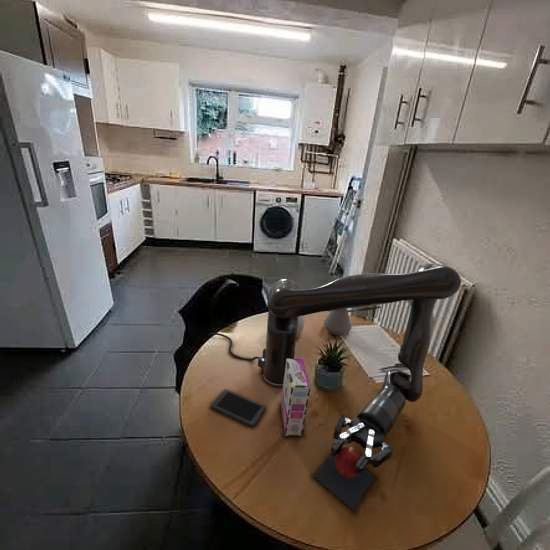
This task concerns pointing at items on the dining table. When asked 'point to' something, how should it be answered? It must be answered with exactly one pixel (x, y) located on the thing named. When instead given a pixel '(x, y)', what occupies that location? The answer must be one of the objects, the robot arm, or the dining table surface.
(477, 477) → the dining table surface
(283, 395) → the candy bar box
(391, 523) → the dining table surface
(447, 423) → the dining table surface
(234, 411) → the cell phone
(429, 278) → the robot arm
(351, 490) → the front mat
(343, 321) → the coffee pot
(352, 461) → the onion
